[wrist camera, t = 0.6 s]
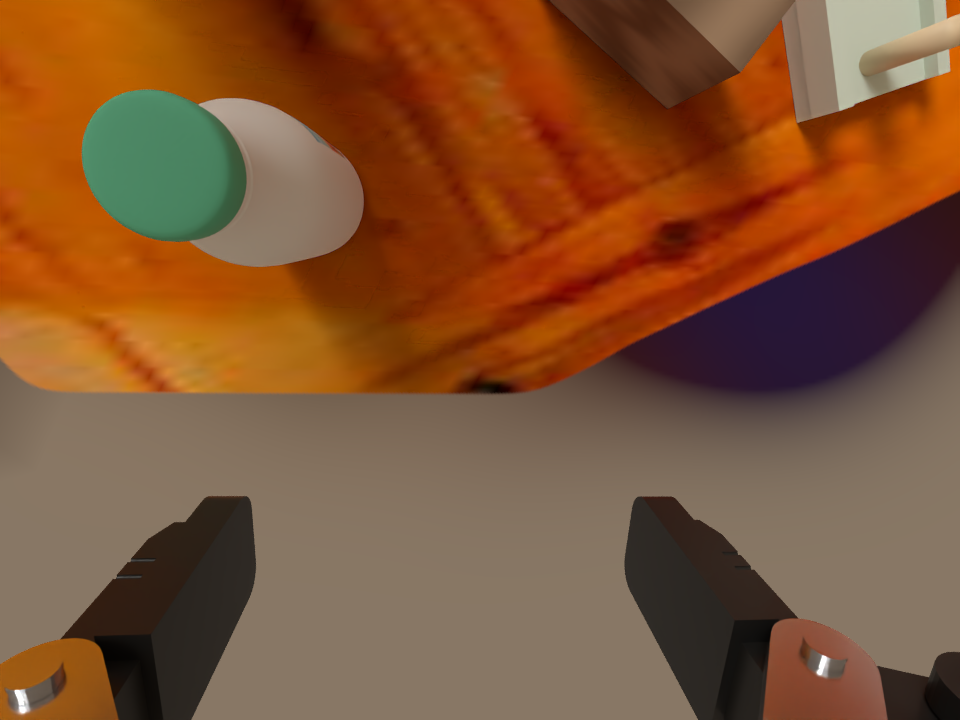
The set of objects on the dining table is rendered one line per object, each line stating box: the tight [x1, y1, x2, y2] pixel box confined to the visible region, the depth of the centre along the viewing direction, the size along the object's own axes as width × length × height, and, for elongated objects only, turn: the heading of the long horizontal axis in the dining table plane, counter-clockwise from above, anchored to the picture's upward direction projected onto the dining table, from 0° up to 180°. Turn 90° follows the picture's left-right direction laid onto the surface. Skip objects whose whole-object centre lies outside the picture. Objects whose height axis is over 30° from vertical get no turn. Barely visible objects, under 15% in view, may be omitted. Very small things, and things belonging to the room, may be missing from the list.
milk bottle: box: [82, 90, 364, 267], centre depth 26 cm, size 8×8×20 cm
